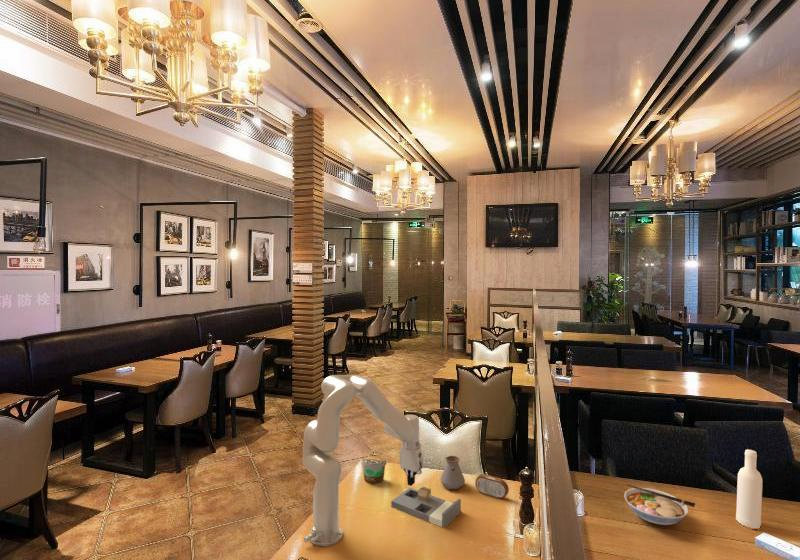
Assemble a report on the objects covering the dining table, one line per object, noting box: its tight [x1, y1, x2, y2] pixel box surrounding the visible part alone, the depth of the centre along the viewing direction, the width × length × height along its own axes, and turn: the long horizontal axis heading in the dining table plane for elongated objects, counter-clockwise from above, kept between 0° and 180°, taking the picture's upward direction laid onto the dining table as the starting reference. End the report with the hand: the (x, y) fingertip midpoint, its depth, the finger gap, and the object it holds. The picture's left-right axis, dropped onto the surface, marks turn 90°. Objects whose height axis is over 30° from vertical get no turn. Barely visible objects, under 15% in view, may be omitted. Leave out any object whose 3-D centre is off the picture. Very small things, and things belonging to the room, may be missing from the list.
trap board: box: [390, 487, 462, 529], centre depth 187 cm, size 14×26×6 cm, turn 55°
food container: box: [361, 457, 388, 485], centre depth 210 cm, size 12×6×10 cm, turn 80°
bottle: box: [735, 449, 763, 529], centre depth 177 cm, size 8×8×30 cm
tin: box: [475, 473, 510, 500], centre depth 199 cm, size 15×3×8 cm, turn 58°
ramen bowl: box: [623, 484, 696, 526], centre depth 181 cm, size 25×23×8 cm
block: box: [418, 485, 432, 502], centre depth 191 cm, size 4×4×4 cm
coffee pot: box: [439, 455, 466, 490], centre depth 202 cm, size 21×12×15 cm, turn 174°
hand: (411, 484), depth 196 cm, fingers closed
